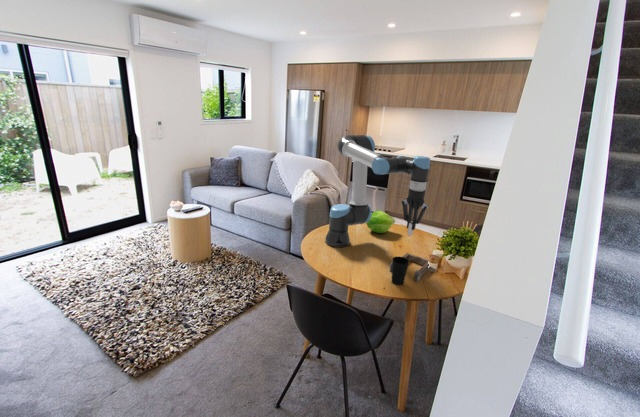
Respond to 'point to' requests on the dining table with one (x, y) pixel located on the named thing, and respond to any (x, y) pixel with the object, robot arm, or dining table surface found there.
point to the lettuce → (380, 222)
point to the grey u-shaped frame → (419, 261)
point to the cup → (399, 270)
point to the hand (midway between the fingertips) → (409, 235)
